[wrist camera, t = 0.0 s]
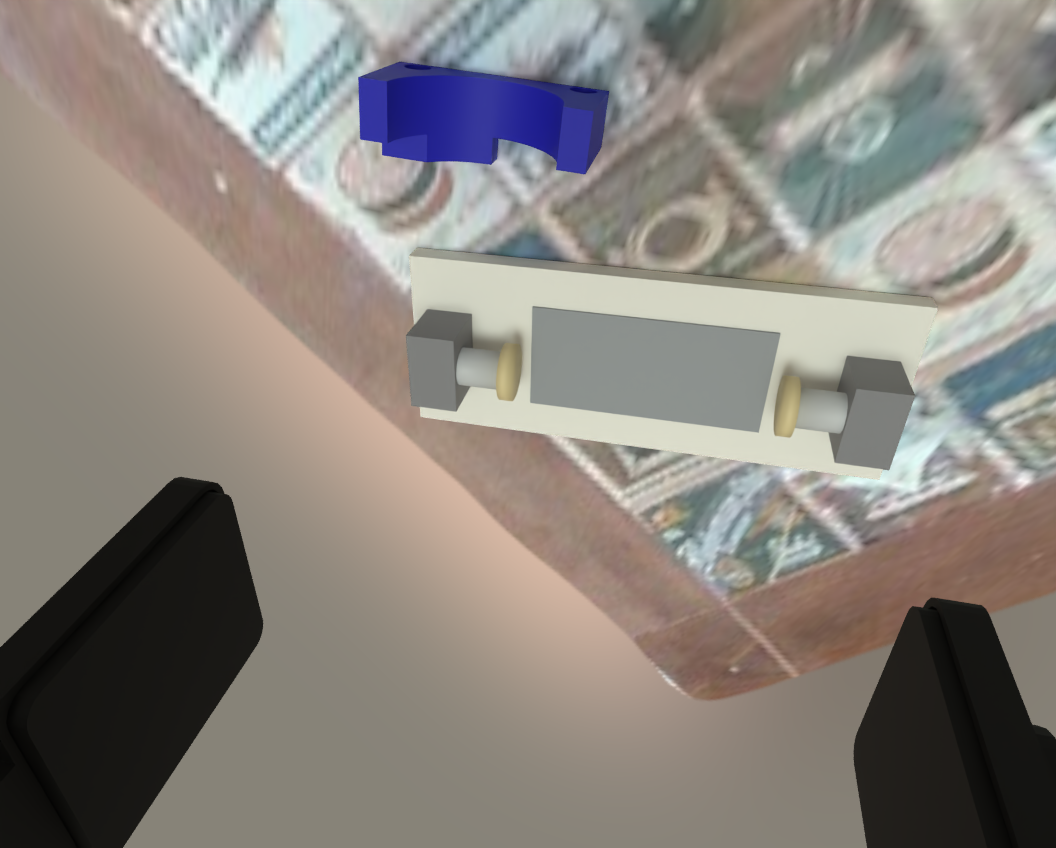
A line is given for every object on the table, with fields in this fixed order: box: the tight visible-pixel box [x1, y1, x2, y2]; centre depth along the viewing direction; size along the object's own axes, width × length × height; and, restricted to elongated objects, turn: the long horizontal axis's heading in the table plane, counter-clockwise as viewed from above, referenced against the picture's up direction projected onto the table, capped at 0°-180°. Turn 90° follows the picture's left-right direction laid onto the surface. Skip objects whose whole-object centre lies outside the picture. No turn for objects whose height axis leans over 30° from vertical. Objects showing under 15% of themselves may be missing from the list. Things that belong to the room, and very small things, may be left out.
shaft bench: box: [406, 248, 938, 480], centre depth 46 cm, size 12×31×6 cm, turn 89°
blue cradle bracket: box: [358, 62, 609, 174], centre depth 41 cm, size 12×4×6 cm, turn 84°
